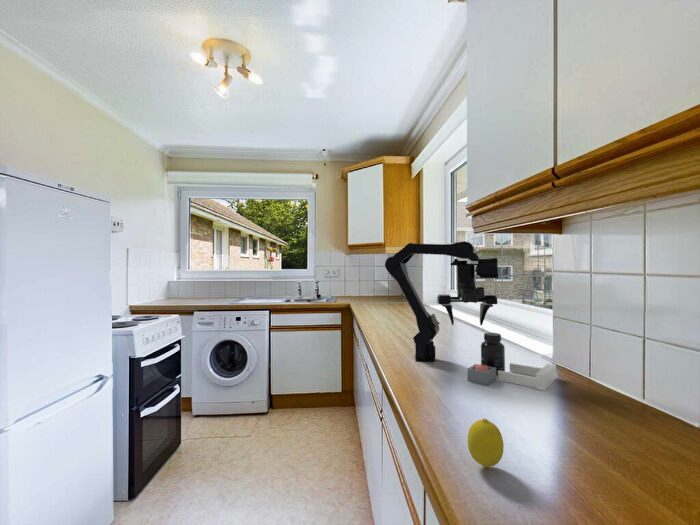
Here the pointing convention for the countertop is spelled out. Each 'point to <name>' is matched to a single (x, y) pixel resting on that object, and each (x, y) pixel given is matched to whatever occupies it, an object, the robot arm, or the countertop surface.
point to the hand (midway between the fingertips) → (466, 324)
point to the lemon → (485, 443)
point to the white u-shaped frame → (539, 382)
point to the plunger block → (481, 375)
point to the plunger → (481, 367)
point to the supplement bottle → (493, 352)
